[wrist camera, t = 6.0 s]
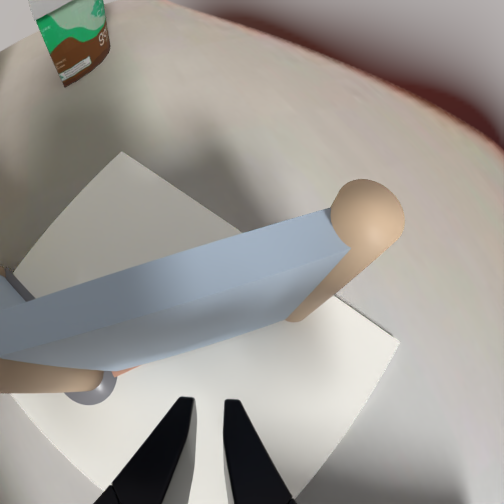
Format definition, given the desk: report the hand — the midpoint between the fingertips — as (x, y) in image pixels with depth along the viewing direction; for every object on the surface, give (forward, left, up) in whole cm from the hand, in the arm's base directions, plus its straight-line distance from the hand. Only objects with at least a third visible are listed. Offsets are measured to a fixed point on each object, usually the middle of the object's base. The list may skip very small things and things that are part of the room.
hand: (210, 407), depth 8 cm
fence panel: (+2, +2, -6) cm, 6 cm away
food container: (+14, +27, -6) cm, 31 cm away
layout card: (-1, +4, -6) cm, 7 cm away
